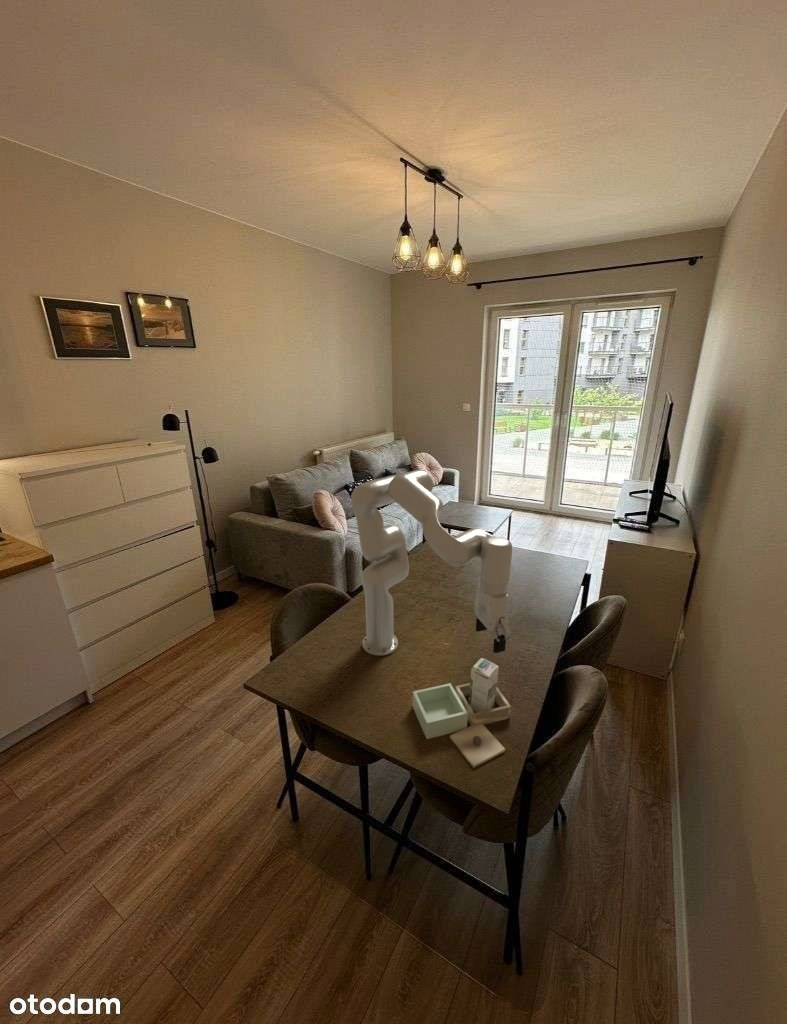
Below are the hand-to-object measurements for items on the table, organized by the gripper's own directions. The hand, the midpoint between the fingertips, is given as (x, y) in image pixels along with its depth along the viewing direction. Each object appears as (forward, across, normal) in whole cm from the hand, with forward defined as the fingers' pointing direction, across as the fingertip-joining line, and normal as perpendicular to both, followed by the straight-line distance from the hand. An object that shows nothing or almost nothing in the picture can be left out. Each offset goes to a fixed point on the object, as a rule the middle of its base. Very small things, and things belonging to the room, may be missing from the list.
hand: (489, 640), depth 113 cm
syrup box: (+23, 0, -1) cm, 23 cm away
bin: (+23, 0, -14) cm, 27 cm away
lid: (+23, +11, -8) cm, 26 cm away
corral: (+23, 0, -1) cm, 23 cm away
